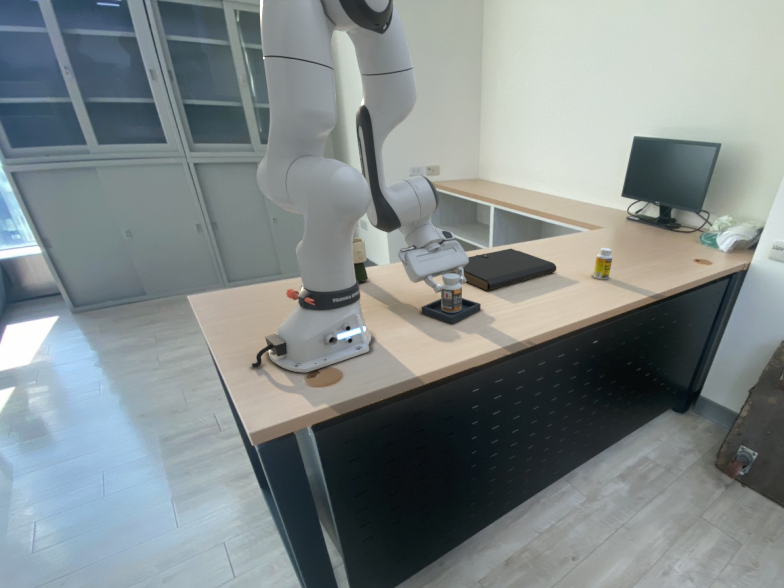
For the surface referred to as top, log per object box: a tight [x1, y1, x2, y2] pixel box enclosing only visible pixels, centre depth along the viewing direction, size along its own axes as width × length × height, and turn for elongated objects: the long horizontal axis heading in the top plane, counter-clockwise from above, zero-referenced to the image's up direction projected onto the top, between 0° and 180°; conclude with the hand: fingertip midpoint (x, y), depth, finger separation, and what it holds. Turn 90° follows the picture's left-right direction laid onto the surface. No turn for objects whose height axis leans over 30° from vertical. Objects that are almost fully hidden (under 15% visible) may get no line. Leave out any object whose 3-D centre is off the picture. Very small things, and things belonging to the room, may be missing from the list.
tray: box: [420, 297, 482, 325], centre depth 114 cm, size 13×11×2 cm
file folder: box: [450, 248, 557, 292], centre depth 145 cm, size 33×4×24 cm
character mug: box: [352, 237, 369, 283], centre depth 128 cm, size 11×7×13 cm, turn 46°
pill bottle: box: [440, 273, 463, 313], centre depth 111 cm, size 6×6×10 cm
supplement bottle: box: [592, 247, 613, 280], centre depth 145 cm, size 6×6×10 cm
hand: (451, 287), depth 110 cm, fingers open, 8 cm apart
